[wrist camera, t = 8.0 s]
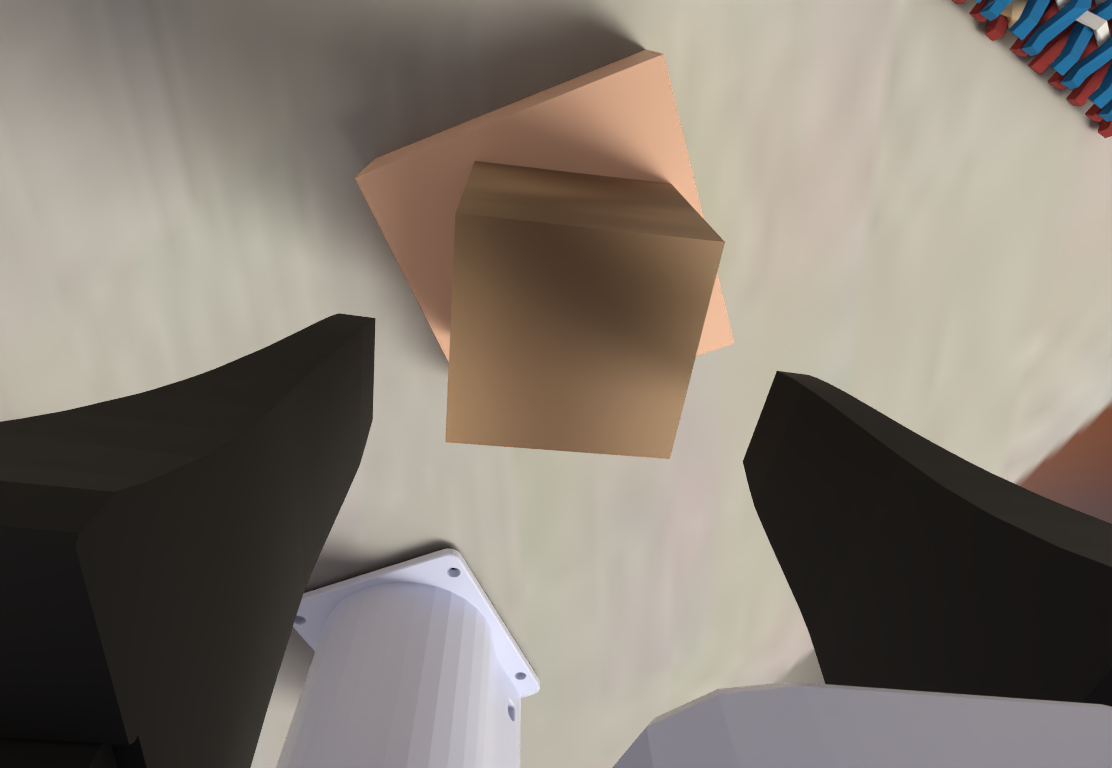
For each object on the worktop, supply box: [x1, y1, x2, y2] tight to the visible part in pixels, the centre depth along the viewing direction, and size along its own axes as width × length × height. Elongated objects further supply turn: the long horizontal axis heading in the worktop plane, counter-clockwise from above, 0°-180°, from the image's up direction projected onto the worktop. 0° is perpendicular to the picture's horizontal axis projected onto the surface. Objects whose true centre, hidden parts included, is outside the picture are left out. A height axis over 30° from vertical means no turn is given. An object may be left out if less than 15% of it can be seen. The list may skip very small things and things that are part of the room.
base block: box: [355, 50, 734, 362], centre depth 19 cm, size 8×8×3 cm
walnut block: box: [446, 161, 725, 459], centre depth 15 cm, size 5×5×5 cm
